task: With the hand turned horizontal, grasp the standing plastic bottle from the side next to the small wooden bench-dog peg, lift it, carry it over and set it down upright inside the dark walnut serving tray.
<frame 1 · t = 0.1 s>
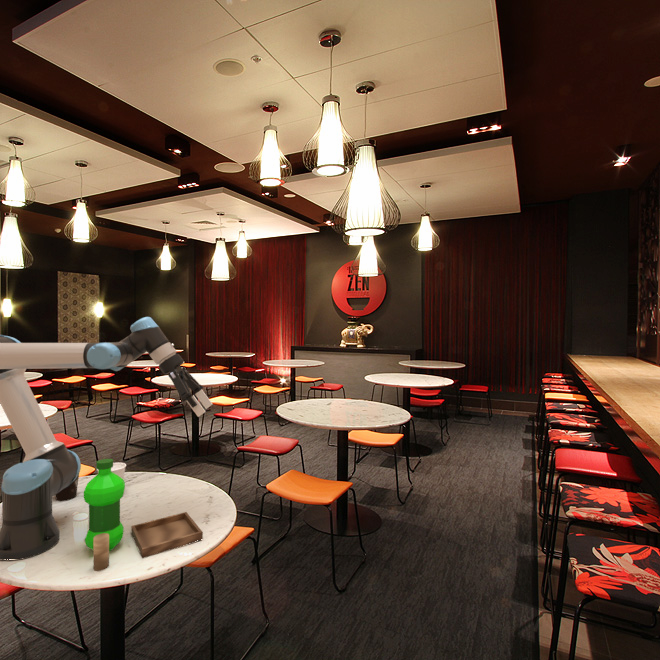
hand: (205, 410, 137), 36 cm above the table, tool tilted 35°, fingers open, 13 cm apart
cup: (111, 496, 155), on the table
coffee mug: (69, 496, 154), on the table
plastic bottle: (104, 548, 117), on the table
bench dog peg: (101, 566, 108), on the table
tray: (166, 536, 124), on the table
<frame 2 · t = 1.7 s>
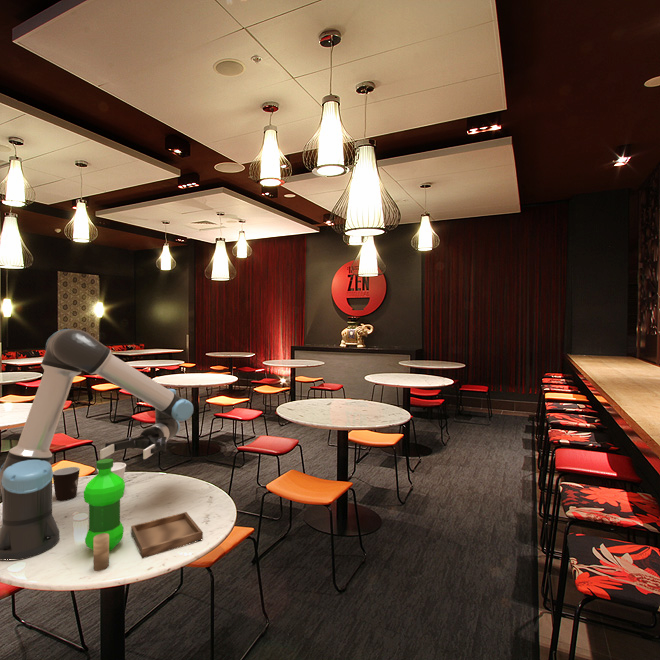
hand: (122, 454, 127), 24 cm above the table, tool horizontal, fingers open, 13 cm apart
nothing on the table moved.
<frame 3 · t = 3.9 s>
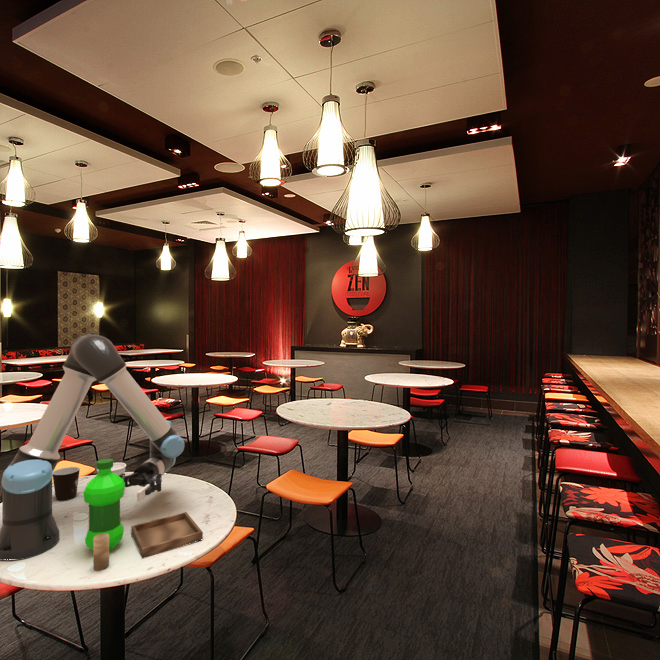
hand: (115, 497, 121), 13 cm above the table, tool horizontal, fingers open, 13 cm apart
nothing on the table moved.
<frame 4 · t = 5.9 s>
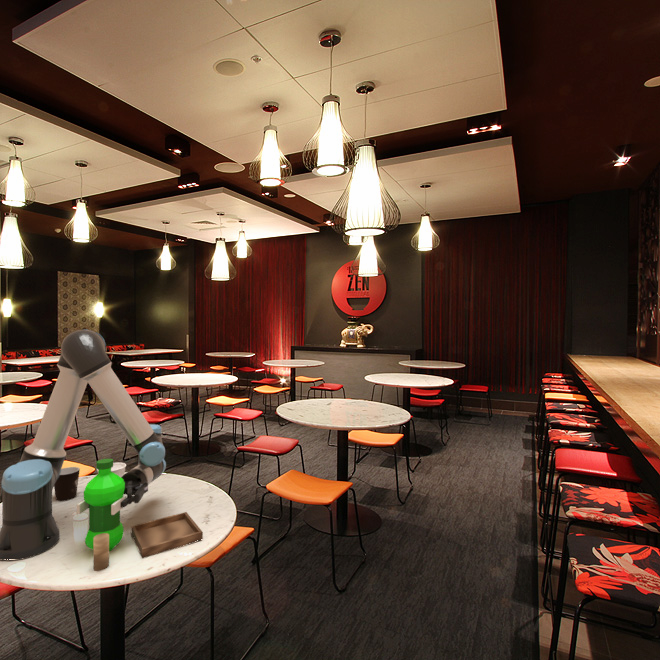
hand: (95, 509, 113), 13 cm above the table, tool horizontal, fingers closed on plastic bottle, 9 cm apart
plastic bottle: (104, 548, 117), on the table, touching gripper
everything else where it was.
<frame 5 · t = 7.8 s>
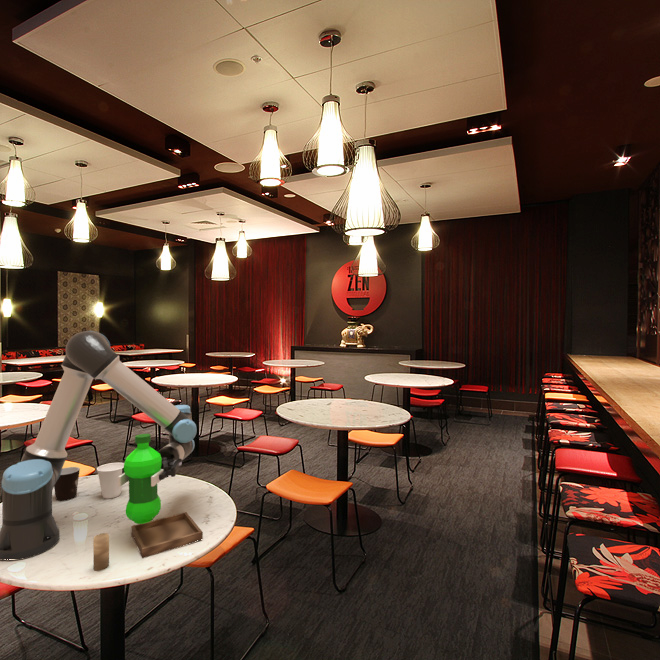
hand: (135, 481, 117), 19 cm above the table, tool horizontal, fingers closed on plastic bottle, 9 cm apart
plastic bottle: (143, 520, 121), point 6 cm above the table, touching gripper
everything else where it was.
when the fingers open (15 cm above the table, at t = 9.7 s): plastic bottle drops 1 cm, resting on tray.
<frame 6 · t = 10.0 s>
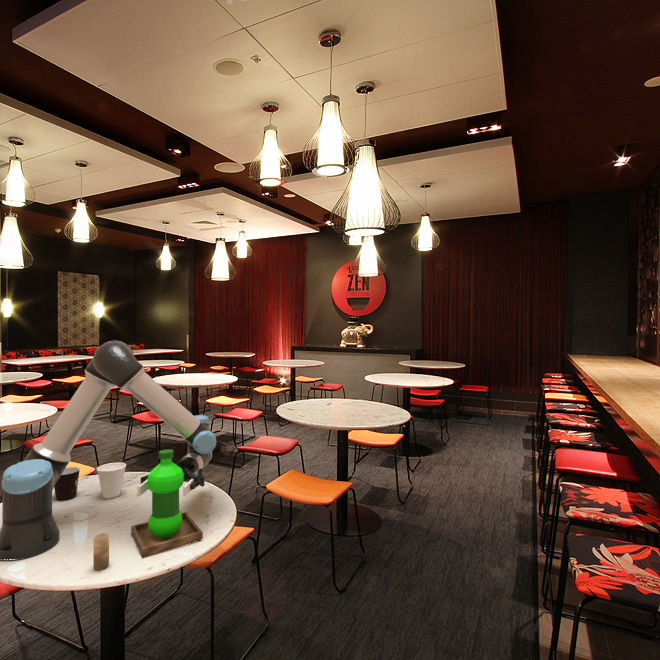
hand: (161, 491, 120), 15 cm above the table, tool horizontal, fingers open, 13 cm apart
plastic bottle: (165, 534, 124), resting on tray
everything else where it was.
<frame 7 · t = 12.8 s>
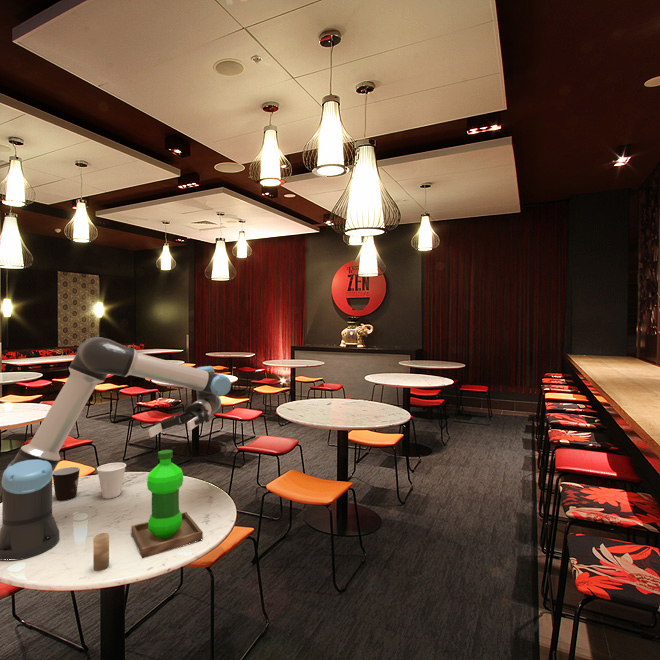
hand: (169, 429, 133), 30 cm above the table, tool horizontal, fingers open, 13 cm apart
nothing on the table moved.
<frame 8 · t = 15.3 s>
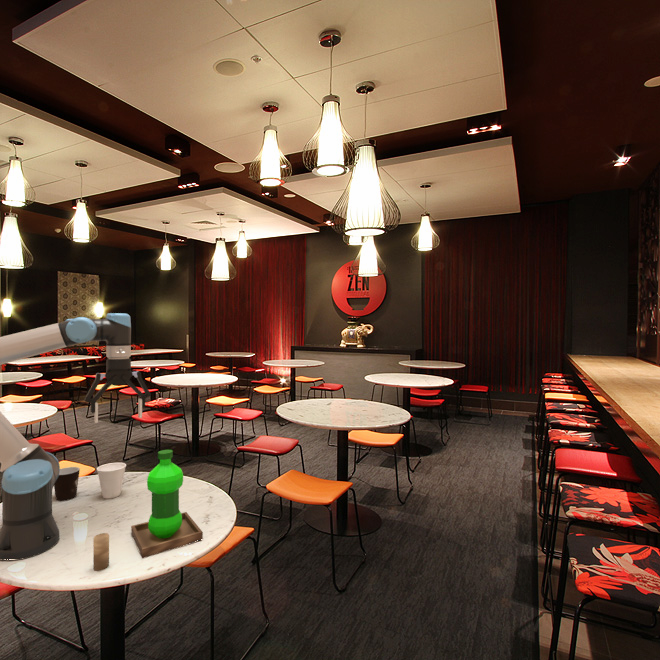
hand: (118, 419, 141), 32 cm above the table, tool pointing down, fingers open, 13 cm apart
nothing on the table moved.
at the end: plastic bottle inside the target area on the tray (0.6 cm from its centre), point 0.4 cm above the tray's base; plastic bottle tilted 0°; the gripper is holding nothing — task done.
